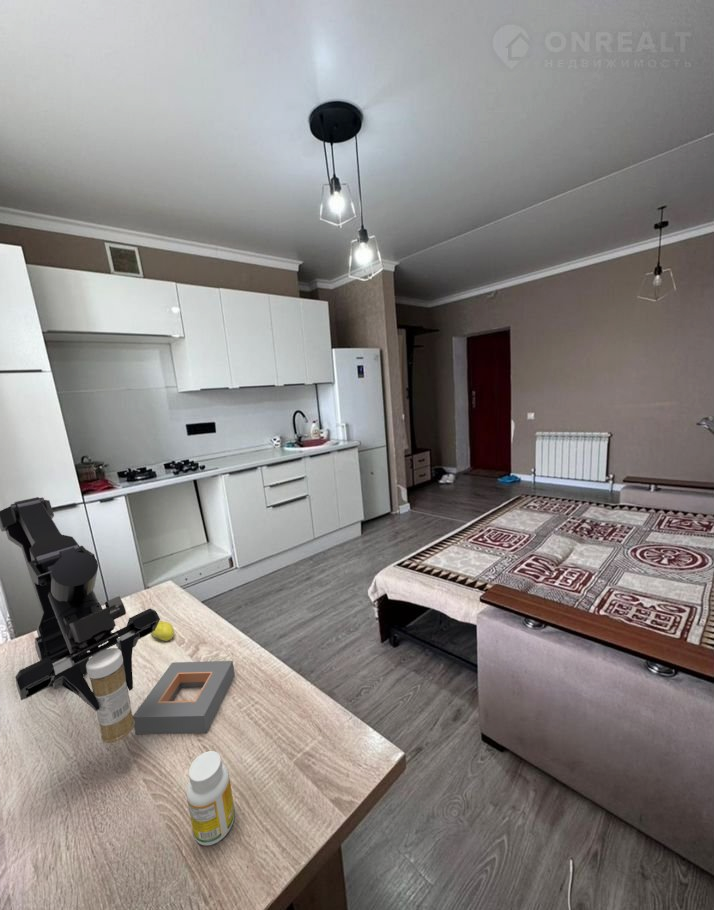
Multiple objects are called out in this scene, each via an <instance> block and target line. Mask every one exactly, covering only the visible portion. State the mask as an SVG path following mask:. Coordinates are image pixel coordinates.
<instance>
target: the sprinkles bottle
mask: <svg viewBox="0 0 714 910" xmlns="http://www.w3.org/2000/svg"><path fill="white" fill-rule="evenodd" d="M86 668H87V672H86V673H87V677H88V678H89V679H90V684H91V685H90V686H91V688H92V689H91V690H92V692H93V694H94V696H95V697H96V700H97V702H98V705H99V710H98V711H96V715H97V721H98V723H99V727H100V732H101V740H102V742H103V743H105V744H112V743H116V742H120V741H121V740H122V739H123V740H124V739H125V738H126V737H127V736H128V735H129V734H130V733H131V732H132V730H133V729H134V724H135V721H134V719H133V711H132V706H131V700H130V695H129V689H128V687H127V683H126V678H125V674H124V669H123V657H122V652H121V650H120V649H118V647H109V648H107V649H106V650H103V651H100V652H98V653H97V654H95V655H94V656H92V657H90V658H89V660H88V662H87V664H86Z"/></svg>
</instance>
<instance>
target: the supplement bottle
mask: <svg viewBox="0 0 714 910" xmlns="http://www.w3.org/2000/svg"><path fill="white" fill-rule="evenodd" d="M188 776H189V777H188V778H189V780H188V783H187V786H186V791H185V792H186V793H185V794H186V799H187V805H188V812H189V816H190V821H191V828H192V834H193V837H194V839H195V841H196V842H197V843H198V844H200V845H201V846H212V845H215V844H217V843H218V842H220V841H222V839H223V838H225V836H227V834H228V833H229V831H230V830H231V828H232V826H233V823H234V820H235V815H236V814H235V811H236V810H235V804H234V799H233V798H234V797H233V793H232V792H233V791H232V786H231V785H232V784H231V779H230V772H229V769H228V768H227V766H226V765H225V764H224V763H223V761H222V758H221V755H220V754H219V752H217V751H215V750H210V751H205V752H202V753H201V754H199V755H198V756H197V757H196V758H195V759H194V760H193V761H192V762H191V764H190V766H189V770H188Z"/></svg>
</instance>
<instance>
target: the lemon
mask: <svg viewBox="0 0 714 910" xmlns="http://www.w3.org/2000/svg"><path fill="white" fill-rule="evenodd" d="M150 634H151V636H152V637H154V638H156V639H158V640H162V641H164V642H165V641H167V642H168V641H170V640H172V639H173V637H174V635H175V630H174V626H173V624H172V623H170V622H168V621H163V620H160V621H159V623H158V625H157V627H156V629H155V630H154V631H153V632H152V633H150Z"/></svg>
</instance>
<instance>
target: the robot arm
mask: <svg viewBox="0 0 714 910" xmlns="http://www.w3.org/2000/svg"><path fill="white" fill-rule="evenodd" d="M54 517H55V514H54V511H53V508H52V504H51V502H50V500H48V499H45V498H44V497H38V496H36V497H32V498H27V499H23V500H17V501H15V502H14V503H11V504H10V506H8V507H5V508H3V509H1V510H0V531H1V532H2V533H3V532H5V534H6V537H7V539H8V541H10V542H12V543H13V544H14V545H16V546H17V547H19V548H20V549H21V551H22V555H23V559H24V560H25V564H26V566H27V570H28V571H27V572H28V574H29V576H30V580H31V582H32V586H33V590H34V593H35V596H36V600H37V602H38V605H39V608H40V612H41V615H40V617H39V620H38V623H37V626H36V628H35V629H36V633H37V637H34V645H35V647H34V648H35V651H36V655H37V657H38V659H39V661H36V662H34V663H33V664H31V665H29V666H26V667H24V668H21V669H19V671H18V672H17V674H16V675H15V684H16V688H17V692H18V695H19V699H20V700H21V701H23V700H27V699H28V698H30V697H32V696H34V695H36V694H38V693H39V692H41V691H44V690H45V689H47V688H48V687H53V689H54V690H57V689H59V688H60V687H63V688H64V689H66V690H68V691H70V692H71V693H73V694H75V695H76V696H78V697H79V698H81V700H82V701H83V702H84V703H86V704H87V705H88V706H89V707H90V708H91V709H93V710H94V711H95V712H97V711H98V710H99V705H98V702H97V700H96V697H95V696H94V694H93V689H91V687H90V685H89V684H88V682H87V680H86V678H85V676H84V675H85V674H86V673H87V668H86V664H87V662H88V660H89V659H90V658H91V657H92V656H94V655H95V654H97V653H98V652H100V651H103V650H106V649H109V648H112V647H113V646H115V645H116V648H118V649H120V650H121V652H122V657H123V669H124V674H125V678H126V683H127V688H128V692H130V691H132V690H133V689H134V682H133V680H134V679H133V649H134V648H135V647H136V646H137V644H138V641H139V640H140V639H143V638H144V637H146V636H148V635H149V634H151V633H152V632H153V631H154V630H155V629H156V627H157V625H158V623H159V621H161V618H160V616H159V614H158V613H157V611H156V610H155V609H153V608H147V609H146V610H143V611H141V612H140V613H137V614H135V615H133V616H131V617H128V621H127V623H126V626H124V627H122V628H120V629H117V630H115V631H113V630H114V629H115V627H116V626H117V624H116V623H115V622H116V621H115V620H117V619H119V618H121V617H123V616H125V615H126V614H127V611H126V608H125V604H124V603H123V601H122V599H121V597H120V595H118V596H115V597H114V598H111V599H109V600H106V601H105V603H104V605H105V607H104V608H103V607H102V604H100V602H99V600H98V598H97V595H96V593H95V591H94V589H95V584H96V580H97V574H98V569H99V562H98V560H97V559H96V557H95V554H94V553H92V552H91V551H90V550H88V549H86V548H85V547H84V546H83V545H80V544H79V543H78V542H77V541H76V539H75V538H74V537H73V536H70V535H65V534H62V533H61V532H60V530H59V529H58V527H57V525H56V523H55V522H54V520H53V518H54ZM112 631H113V632H112Z"/></svg>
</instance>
